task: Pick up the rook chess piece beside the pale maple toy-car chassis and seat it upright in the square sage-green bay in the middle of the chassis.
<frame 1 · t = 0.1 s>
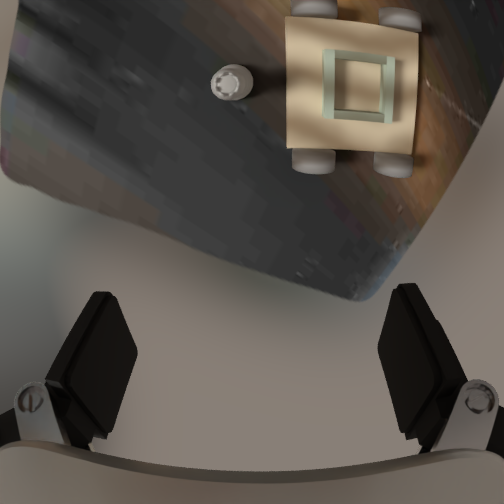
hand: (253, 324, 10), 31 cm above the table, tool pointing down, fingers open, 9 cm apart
rook chess piece: (234, 82, 34), on the table
car chassis: (353, 85, 33), on the table
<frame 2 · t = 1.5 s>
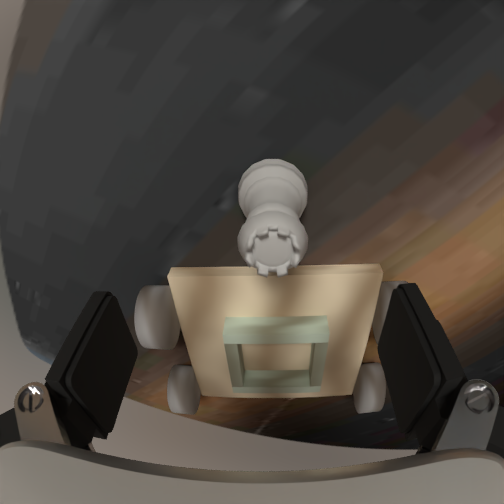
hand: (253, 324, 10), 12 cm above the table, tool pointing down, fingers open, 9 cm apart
rook chess piece: (272, 188, 21), on the table
car chassis: (276, 339, 28), on the table
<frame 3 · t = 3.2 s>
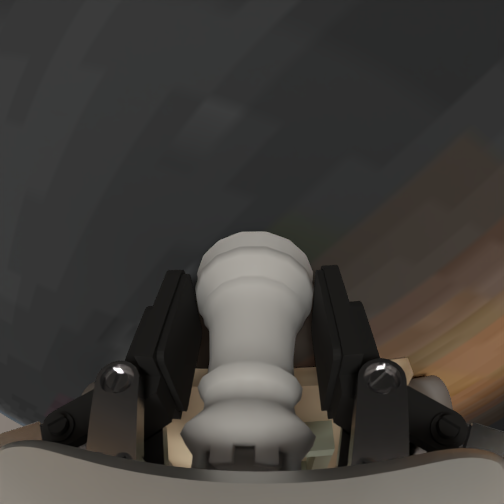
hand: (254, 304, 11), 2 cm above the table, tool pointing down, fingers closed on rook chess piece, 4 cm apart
rook chess piece: (255, 272, 13), on the table, touching gripper
car chassis: (265, 434, 20), on the table
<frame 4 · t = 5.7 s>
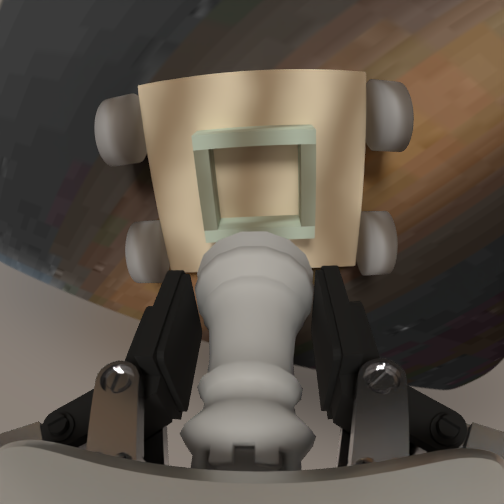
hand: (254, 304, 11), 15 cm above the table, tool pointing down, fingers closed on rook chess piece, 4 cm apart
rook chess piece: (255, 271, 13), point 13 cm above the table, touching gripper
car chassis: (257, 174, 24), on the table
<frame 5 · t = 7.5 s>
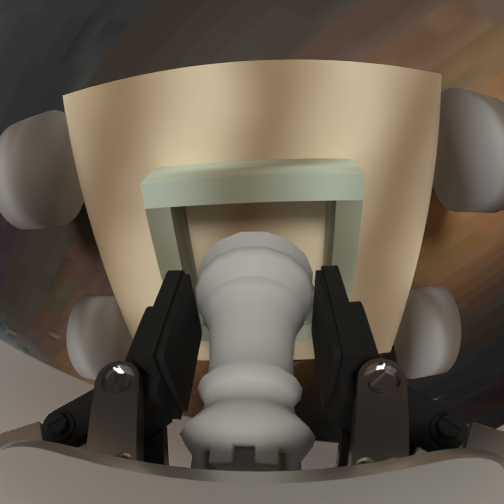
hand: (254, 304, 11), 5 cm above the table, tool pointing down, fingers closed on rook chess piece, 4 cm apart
rook chess piece: (255, 272, 13), point 3 cm above the table, touching gripper
car chassis: (258, 233, 16), on the table
when the fingers open (4 cm above the table, at t = 8.6 s): rook chess piece stays where it is, resting on car chassis.
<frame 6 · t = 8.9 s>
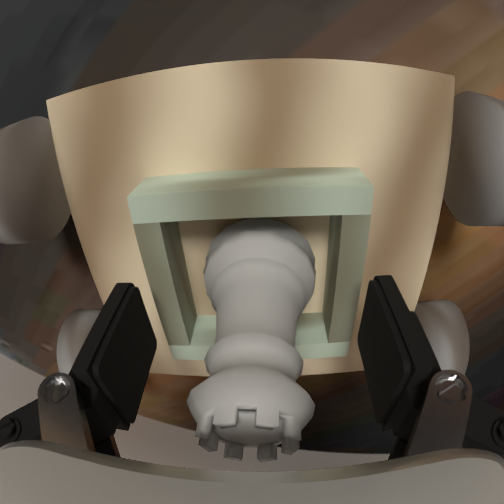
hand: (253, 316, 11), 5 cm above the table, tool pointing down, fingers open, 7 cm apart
rook chess piece: (260, 258, 14), point 1 cm above the table, touching car chassis
car chassis: (256, 247, 15), on the table
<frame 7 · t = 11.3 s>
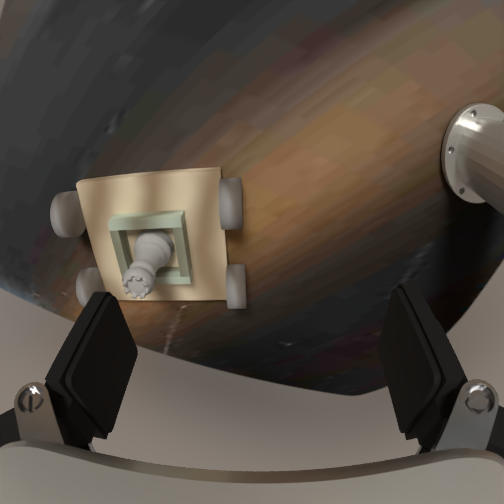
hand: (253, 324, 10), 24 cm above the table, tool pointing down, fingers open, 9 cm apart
rook chess piece: (156, 243, 35), point 1 cm above the table, touching car chassis
car chassis: (156, 239, 36), on the table
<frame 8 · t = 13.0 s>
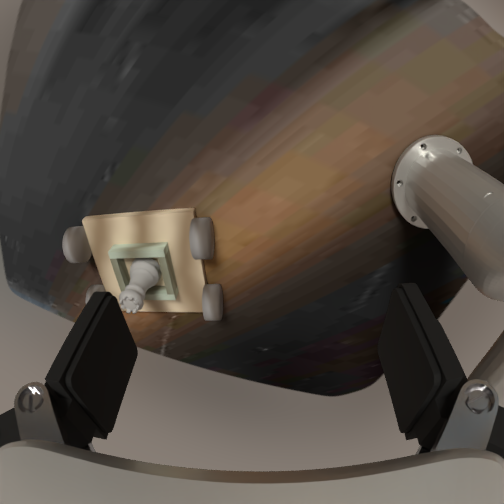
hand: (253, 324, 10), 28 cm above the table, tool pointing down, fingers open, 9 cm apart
rook chess piece: (147, 267, 43), point 1 cm above the table, touching car chassis
car chassis: (148, 263, 44), on the table
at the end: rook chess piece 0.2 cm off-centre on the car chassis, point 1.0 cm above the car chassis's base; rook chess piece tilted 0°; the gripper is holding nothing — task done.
